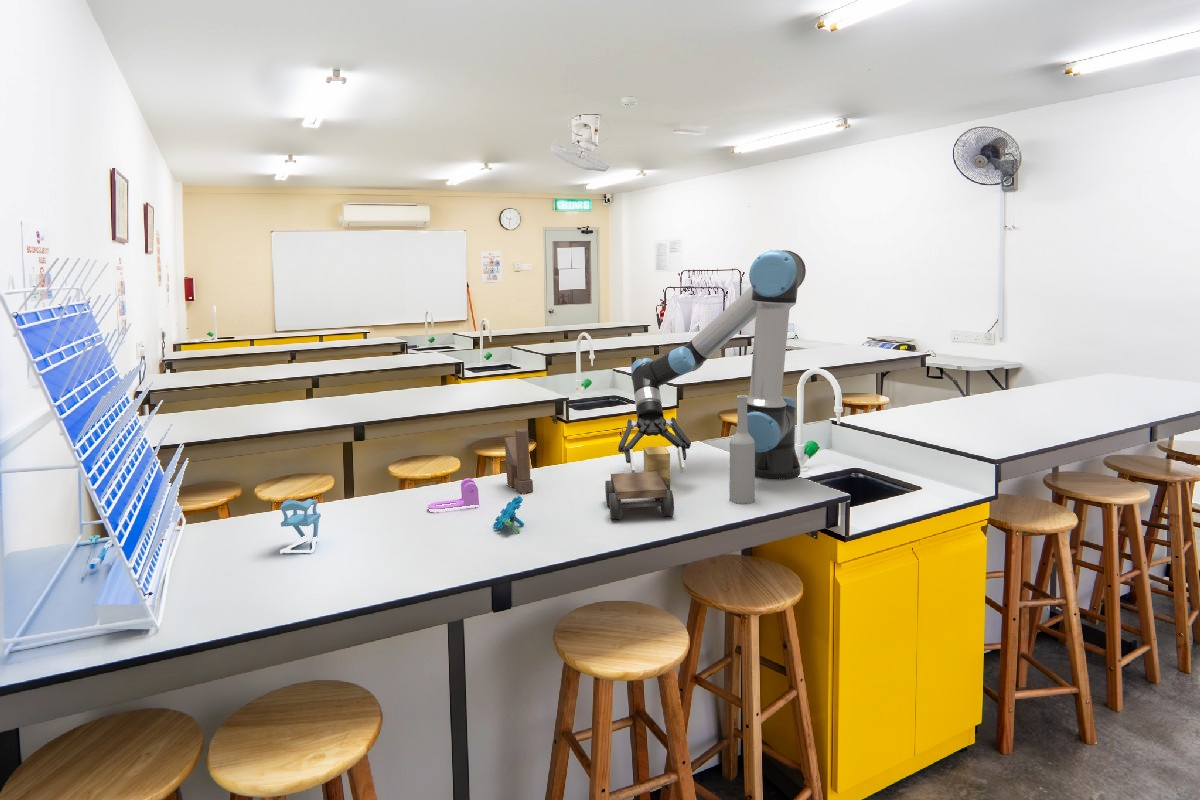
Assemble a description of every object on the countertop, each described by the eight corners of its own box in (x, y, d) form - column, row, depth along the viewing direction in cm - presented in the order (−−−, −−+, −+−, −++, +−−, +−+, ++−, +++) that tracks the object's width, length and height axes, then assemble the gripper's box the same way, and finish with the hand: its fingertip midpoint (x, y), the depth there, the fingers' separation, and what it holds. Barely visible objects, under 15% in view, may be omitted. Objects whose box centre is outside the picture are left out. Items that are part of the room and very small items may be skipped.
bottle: (724, 498, 196) (724, 395, 191) (744, 494, 199) (744, 392, 194) (739, 505, 190) (740, 399, 185) (760, 501, 193) (760, 396, 188)
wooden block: (518, 483, 216) (515, 423, 213) (533, 492, 207) (530, 429, 204) (506, 485, 214) (503, 424, 211) (521, 494, 205) (518, 431, 202)
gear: (493, 514, 184) (519, 487, 182) (511, 528, 186) (537, 502, 184) (488, 535, 174) (516, 507, 172) (507, 550, 175) (535, 523, 173)
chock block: (665, 487, 207) (664, 446, 205) (670, 496, 199) (670, 453, 197) (644, 488, 207) (643, 447, 205) (648, 497, 199) (647, 454, 197)
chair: (327, 540, 174) (322, 491, 172) (312, 553, 166) (307, 502, 164) (295, 541, 175) (290, 492, 173) (279, 554, 167) (273, 503, 165)
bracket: (475, 502, 200) (474, 477, 199) (479, 508, 195) (477, 482, 194) (427, 508, 196) (425, 483, 195) (429, 514, 191) (427, 488, 190)
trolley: (662, 497, 198) (662, 470, 197) (674, 519, 181) (673, 489, 180) (605, 500, 197) (604, 473, 196) (612, 522, 180) (611, 493, 179)
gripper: (689, 411, 216) (701, 475, 204) (605, 415, 214) (611, 480, 202) (693, 397, 210) (705, 461, 198) (606, 401, 208) (613, 466, 196)
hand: (658, 471), depth 200 cm, fingers open, 13 cm apart
